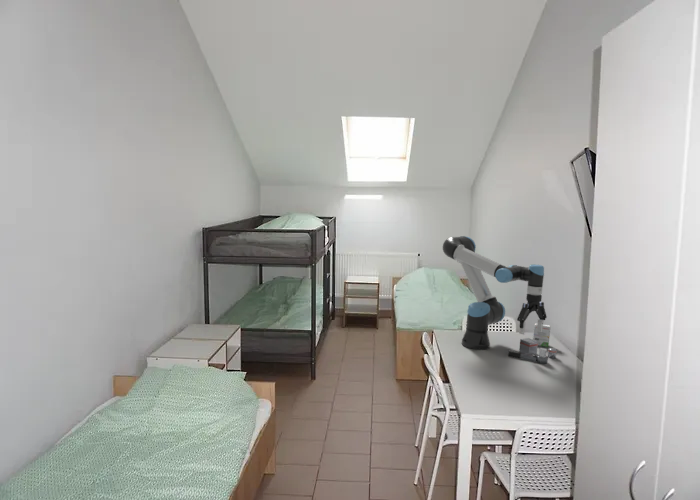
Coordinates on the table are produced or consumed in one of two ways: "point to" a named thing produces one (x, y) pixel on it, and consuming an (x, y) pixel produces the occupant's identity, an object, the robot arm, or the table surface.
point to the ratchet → (531, 356)
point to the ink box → (542, 335)
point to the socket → (528, 346)
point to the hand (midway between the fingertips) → (530, 332)
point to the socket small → (552, 353)
